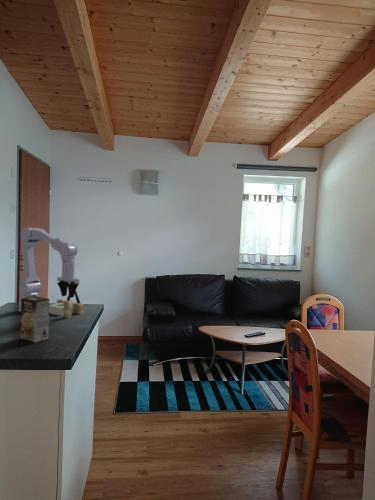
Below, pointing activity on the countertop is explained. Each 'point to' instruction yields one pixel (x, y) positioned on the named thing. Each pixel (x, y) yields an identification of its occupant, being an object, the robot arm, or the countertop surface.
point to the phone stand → (76, 298)
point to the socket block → (59, 309)
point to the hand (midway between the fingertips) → (67, 296)
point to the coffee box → (34, 318)
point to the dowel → (67, 309)
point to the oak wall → (75, 306)
